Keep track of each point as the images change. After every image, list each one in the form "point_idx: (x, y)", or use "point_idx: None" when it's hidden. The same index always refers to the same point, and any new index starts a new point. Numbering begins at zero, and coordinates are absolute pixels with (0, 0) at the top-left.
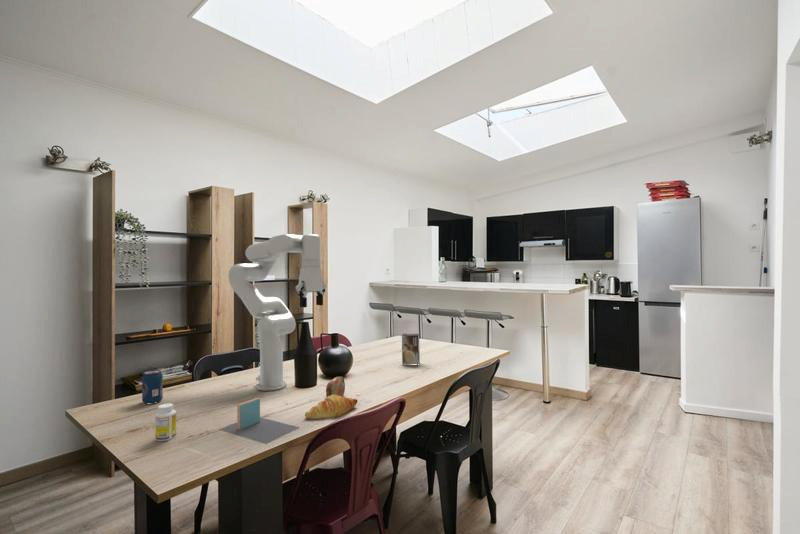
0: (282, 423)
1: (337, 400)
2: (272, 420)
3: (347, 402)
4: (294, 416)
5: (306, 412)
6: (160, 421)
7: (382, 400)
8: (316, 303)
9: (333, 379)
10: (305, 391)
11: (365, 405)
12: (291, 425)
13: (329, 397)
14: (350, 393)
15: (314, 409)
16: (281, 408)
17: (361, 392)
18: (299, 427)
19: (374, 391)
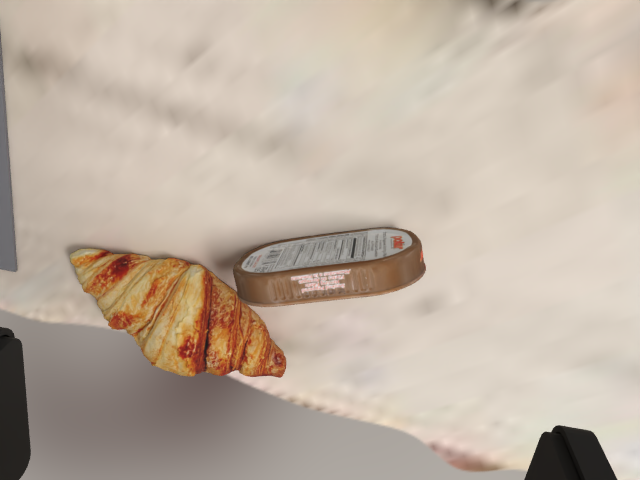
0: (6, 192)
1: (156, 364)
2: (4, 136)
3: (209, 372)
4: (90, 186)
5: (73, 261)
6: None
7: (392, 415)
8: (553, 453)
9: (322, 276)
10: (404, 19)
11: (313, 379)
12: (11, 234)
13: (157, 329)
14: (442, 264)
15: (89, 290)
16: (133, 70)
17: (471, 304)
18: (14, 270)
19: (502, 350)
